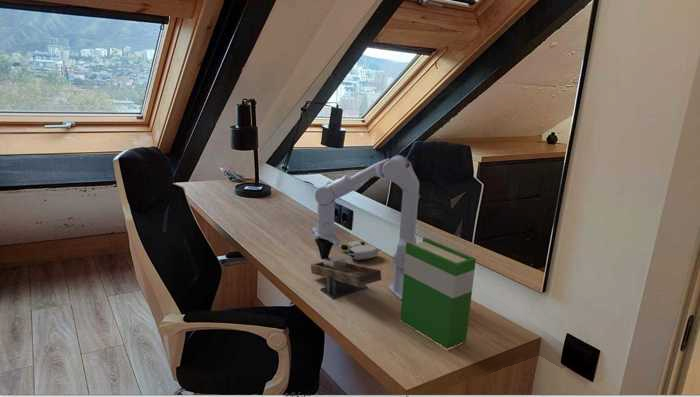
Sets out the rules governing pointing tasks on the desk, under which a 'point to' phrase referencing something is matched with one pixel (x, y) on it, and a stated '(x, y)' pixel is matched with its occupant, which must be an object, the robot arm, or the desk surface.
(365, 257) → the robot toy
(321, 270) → the wooden rimmed tray
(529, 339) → the desk surface
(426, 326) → the hardback book
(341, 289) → the pivot stand
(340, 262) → the block
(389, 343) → the desk surface
